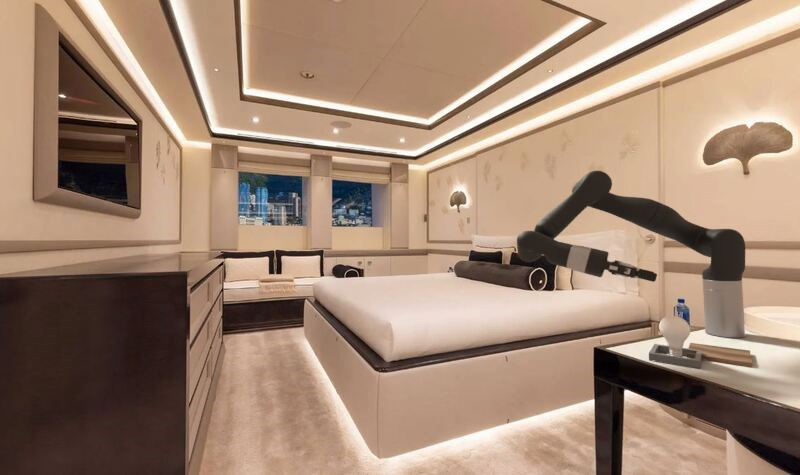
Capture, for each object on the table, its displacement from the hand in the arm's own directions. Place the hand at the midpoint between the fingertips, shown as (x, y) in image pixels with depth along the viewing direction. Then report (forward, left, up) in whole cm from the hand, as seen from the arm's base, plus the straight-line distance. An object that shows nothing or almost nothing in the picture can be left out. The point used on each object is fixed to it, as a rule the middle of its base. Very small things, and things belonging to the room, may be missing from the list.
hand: (654, 276), depth 91 cm
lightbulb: (-2, +3, -21) cm, 22 cm away
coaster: (-11, +11, -21) cm, 26 cm away
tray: (-2, +3, -21) cm, 21 cm away
